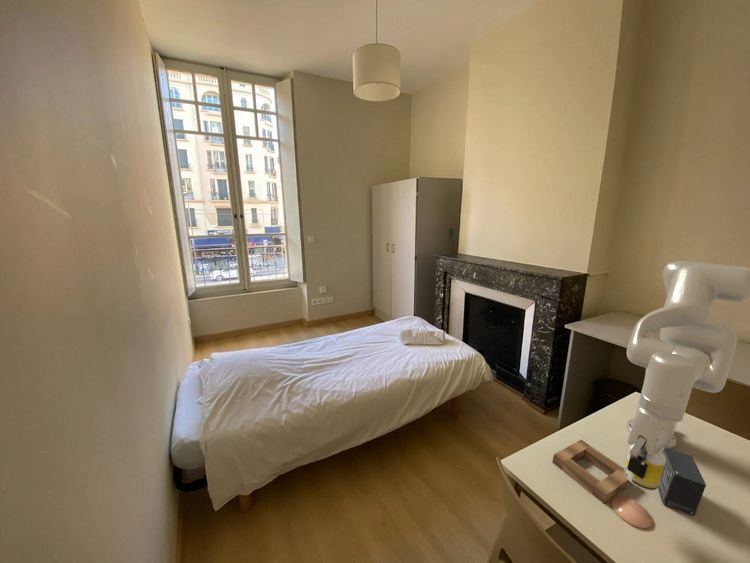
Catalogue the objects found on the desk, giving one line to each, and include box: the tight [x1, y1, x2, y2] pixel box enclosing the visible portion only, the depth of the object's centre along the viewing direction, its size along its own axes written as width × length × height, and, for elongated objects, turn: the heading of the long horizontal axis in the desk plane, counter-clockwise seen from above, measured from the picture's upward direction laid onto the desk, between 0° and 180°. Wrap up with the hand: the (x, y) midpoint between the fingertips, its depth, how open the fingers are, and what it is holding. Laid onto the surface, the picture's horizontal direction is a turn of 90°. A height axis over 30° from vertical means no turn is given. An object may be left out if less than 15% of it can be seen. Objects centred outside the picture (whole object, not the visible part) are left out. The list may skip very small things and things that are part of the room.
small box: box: [657, 447, 707, 517], centre depth 80 cm, size 11×6×10 cm, turn 148°
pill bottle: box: [623, 444, 666, 492], centre depth 73 cm, size 6×6×12 cm
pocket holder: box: [552, 439, 633, 505], centre depth 88 cm, size 14×14×3 cm
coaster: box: [610, 495, 653, 530], centre depth 77 cm, size 8×8×1 cm
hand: (643, 467), depth 73 cm, fingers closed on pill bottle, 6 cm apart
